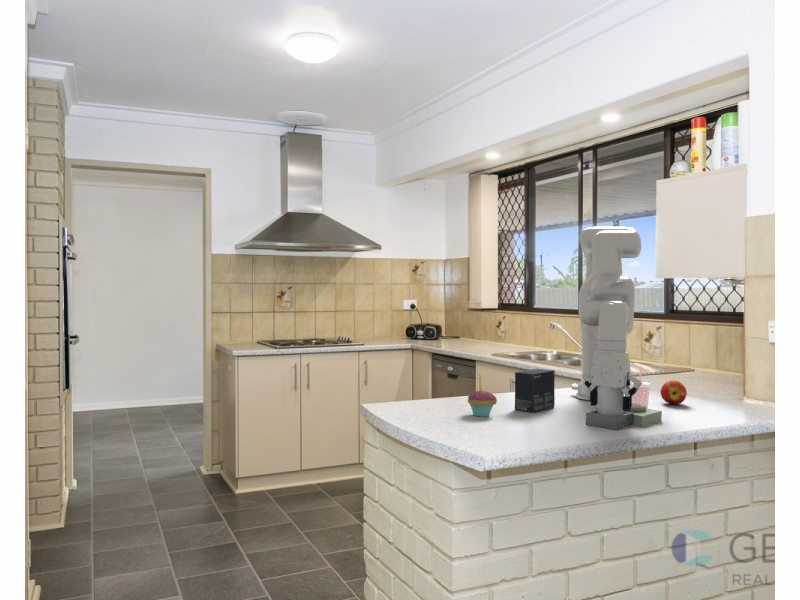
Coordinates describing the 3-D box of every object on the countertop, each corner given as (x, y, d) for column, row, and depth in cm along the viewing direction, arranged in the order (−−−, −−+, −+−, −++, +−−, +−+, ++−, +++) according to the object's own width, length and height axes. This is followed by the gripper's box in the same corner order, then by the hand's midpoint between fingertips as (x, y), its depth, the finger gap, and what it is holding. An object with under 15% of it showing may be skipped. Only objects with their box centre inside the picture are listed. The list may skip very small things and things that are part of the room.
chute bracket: (585, 424, 178) (586, 412, 177) (603, 419, 184) (604, 407, 184) (615, 430, 171) (616, 417, 171) (633, 425, 178) (633, 412, 178)
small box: (536, 404, 207) (537, 368, 206) (555, 408, 202) (556, 370, 202) (513, 410, 197) (514, 371, 197) (532, 413, 192) (533, 373, 192)
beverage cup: (646, 414, 194) (648, 368, 194) (626, 411, 198) (627, 366, 198) (652, 411, 199) (653, 366, 199) (632, 408, 203) (633, 365, 202)
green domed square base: (596, 418, 186) (596, 404, 186) (616, 413, 194) (616, 400, 194) (642, 426, 176) (642, 412, 176) (661, 421, 184) (661, 407, 184)
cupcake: (462, 412, 190) (463, 372, 190) (487, 411, 193) (488, 372, 193) (475, 418, 182) (476, 377, 182) (501, 417, 185) (502, 376, 185)
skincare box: (616, 423, 180) (617, 380, 180) (624, 426, 176) (625, 383, 176) (595, 423, 180) (597, 380, 179) (602, 426, 175) (603, 382, 175)
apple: (661, 405, 210) (662, 381, 210) (659, 401, 218) (659, 378, 218) (687, 407, 208) (688, 382, 208) (684, 403, 216) (685, 379, 216)
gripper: (577, 344, 181) (575, 404, 181) (635, 350, 168) (633, 414, 169) (590, 343, 186) (589, 401, 186) (648, 348, 174) (646, 411, 174)
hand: (610, 407), depth 178 cm, fingers open, 9 cm apart
